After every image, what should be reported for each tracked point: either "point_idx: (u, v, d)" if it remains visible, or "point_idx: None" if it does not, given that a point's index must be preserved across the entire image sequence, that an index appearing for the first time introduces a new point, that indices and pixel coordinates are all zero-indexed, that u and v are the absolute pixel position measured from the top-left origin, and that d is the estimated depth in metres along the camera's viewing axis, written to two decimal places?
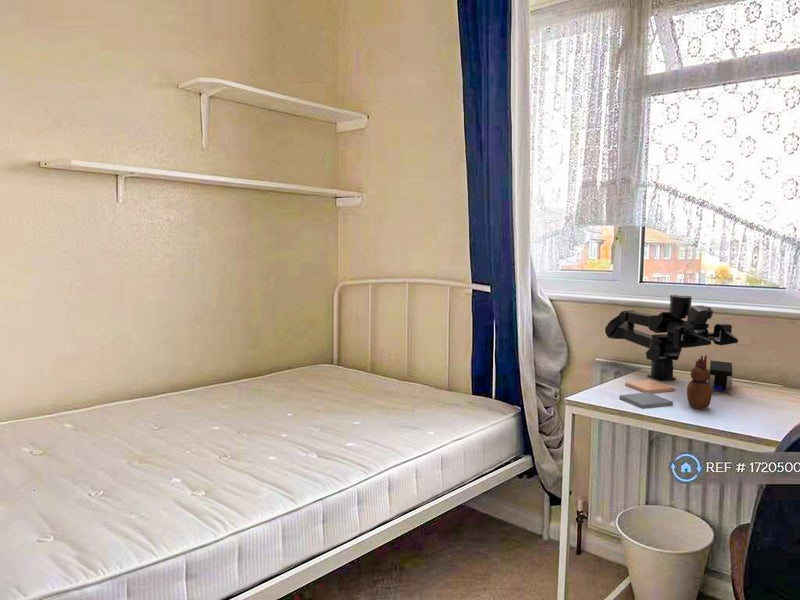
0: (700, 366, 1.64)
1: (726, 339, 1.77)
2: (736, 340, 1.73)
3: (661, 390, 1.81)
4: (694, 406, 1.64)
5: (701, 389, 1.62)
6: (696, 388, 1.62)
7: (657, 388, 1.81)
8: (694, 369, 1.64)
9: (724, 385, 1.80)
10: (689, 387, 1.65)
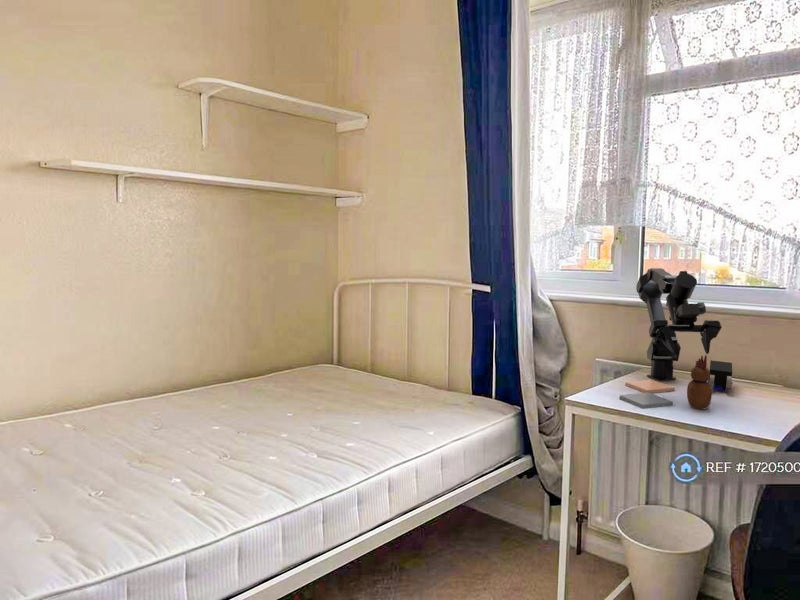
0: (700, 366, 1.64)
1: (704, 342, 1.74)
2: (707, 352, 1.71)
3: (661, 390, 1.81)
4: (694, 406, 1.64)
5: (701, 389, 1.62)
6: (696, 388, 1.62)
7: (657, 388, 1.81)
8: (694, 369, 1.64)
9: (724, 385, 1.80)
10: (689, 387, 1.65)
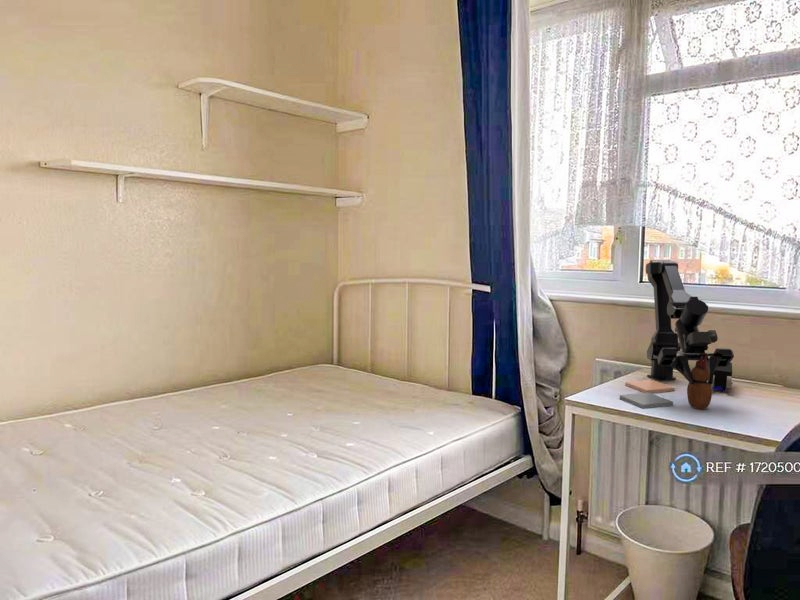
0: (700, 366, 1.64)
1: None
2: (710, 382, 1.63)
3: (661, 390, 1.81)
4: (694, 406, 1.64)
5: (701, 389, 1.62)
6: (696, 388, 1.62)
7: (657, 388, 1.81)
8: (694, 369, 1.64)
9: (724, 385, 1.80)
10: (689, 387, 1.65)
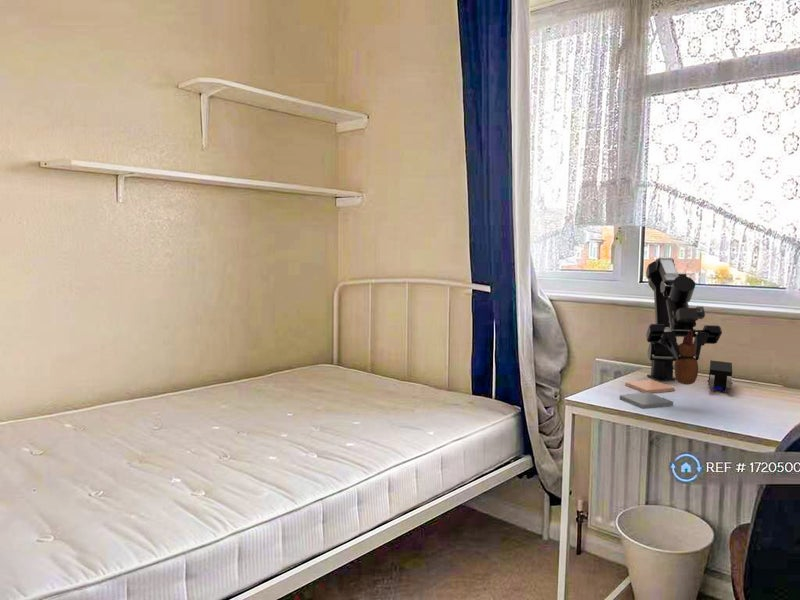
0: (687, 342, 1.66)
1: None
2: (697, 358, 1.65)
3: (661, 390, 1.81)
4: (680, 381, 1.66)
5: (686, 364, 1.64)
6: (682, 363, 1.64)
7: (657, 388, 1.81)
8: (681, 345, 1.66)
9: (724, 385, 1.80)
10: (676, 363, 1.67)
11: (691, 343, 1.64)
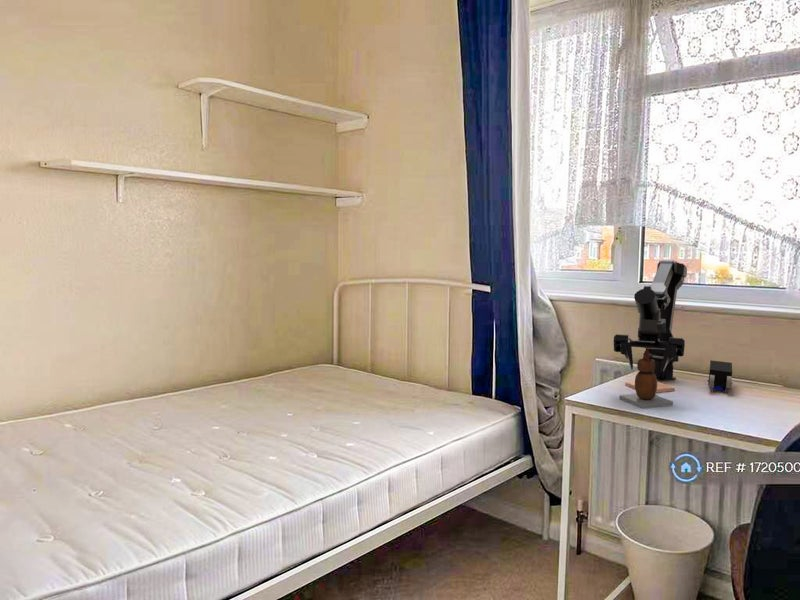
0: (645, 358, 1.70)
1: None
2: (661, 370, 1.67)
3: (661, 390, 1.81)
4: (639, 396, 1.70)
5: (642, 379, 1.68)
6: (638, 378, 1.69)
7: (657, 388, 1.81)
8: (639, 360, 1.70)
9: (724, 385, 1.80)
10: (635, 378, 1.71)
11: (647, 359, 1.68)
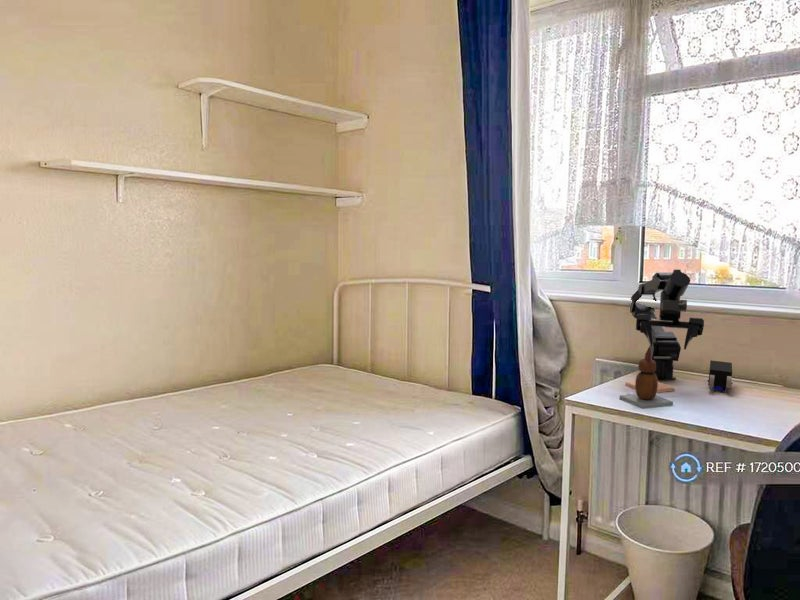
0: (646, 358, 1.69)
1: None
2: (684, 347, 1.78)
3: (661, 390, 1.81)
4: (639, 396, 1.70)
5: (643, 380, 1.68)
6: (639, 378, 1.69)
7: (657, 388, 1.81)
8: (640, 360, 1.70)
9: (724, 385, 1.80)
10: (636, 378, 1.71)
11: (649, 359, 1.68)
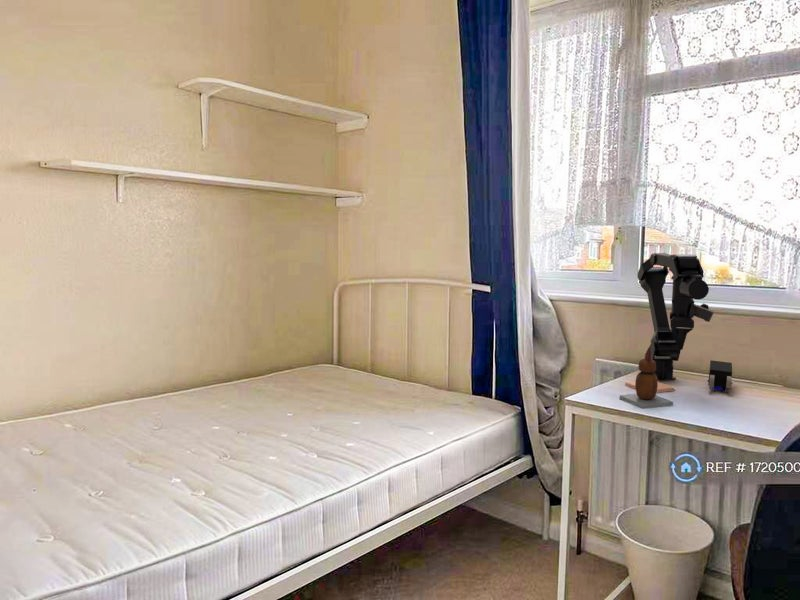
0: (646, 358, 1.69)
1: None
2: None
3: (661, 390, 1.81)
4: (639, 396, 1.70)
5: (643, 380, 1.68)
6: (639, 378, 1.69)
7: (657, 388, 1.81)
8: (640, 360, 1.70)
9: (724, 385, 1.80)
10: (636, 378, 1.71)
11: (649, 359, 1.68)
